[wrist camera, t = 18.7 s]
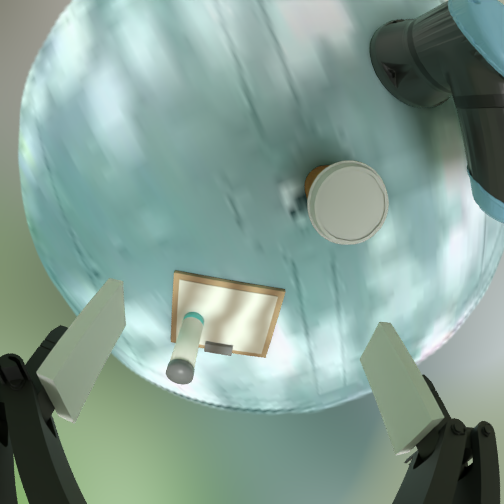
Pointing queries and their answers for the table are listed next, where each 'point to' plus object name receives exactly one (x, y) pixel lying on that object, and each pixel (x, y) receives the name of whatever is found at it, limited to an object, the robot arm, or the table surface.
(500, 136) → the robot arm
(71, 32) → the table surface
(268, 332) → the clipboard
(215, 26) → the table surface
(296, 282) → the table surface
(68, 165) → the table surface
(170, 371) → the ball
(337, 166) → the disposable coffee cup
